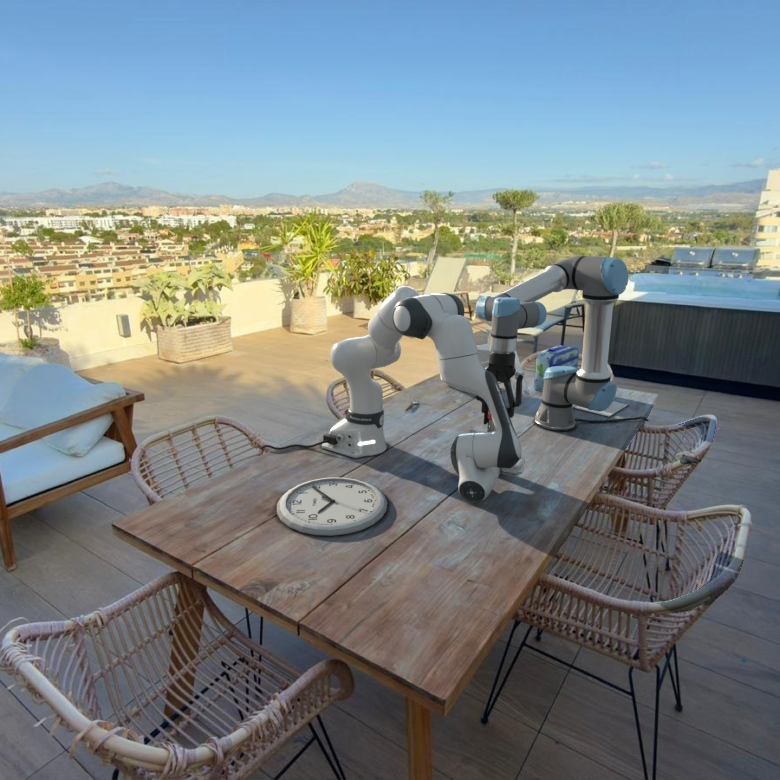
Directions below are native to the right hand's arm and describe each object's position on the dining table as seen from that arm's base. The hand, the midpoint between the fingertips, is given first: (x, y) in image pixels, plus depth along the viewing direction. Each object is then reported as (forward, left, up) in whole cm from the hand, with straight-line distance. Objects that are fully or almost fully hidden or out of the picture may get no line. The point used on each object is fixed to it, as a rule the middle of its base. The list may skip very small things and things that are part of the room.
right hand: (496, 424), depth 160 cm
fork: (+30, -58, -16) cm, 67 cm away
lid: (0, 0, +4) cm, 4 cm away
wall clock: (+45, +28, -16) cm, 55 cm away
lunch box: (-35, -92, -16) cm, 100 cm away
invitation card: (-51, -71, -16) cm, 89 cm away
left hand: (0, -1, -9) cm, 9 cm away
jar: (0, 0, -16) cm, 16 cm away
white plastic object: (+1, -83, -16) cm, 84 cm away
